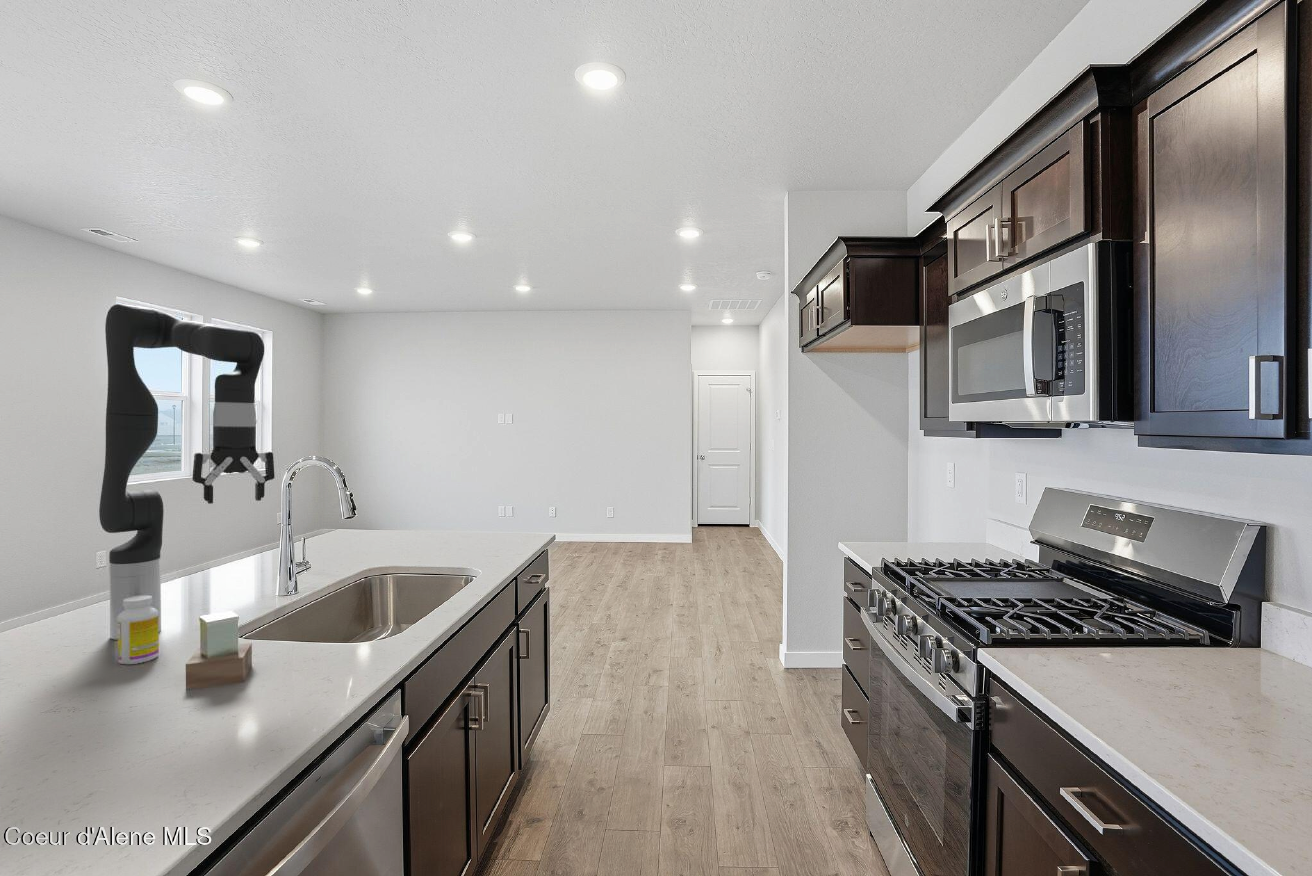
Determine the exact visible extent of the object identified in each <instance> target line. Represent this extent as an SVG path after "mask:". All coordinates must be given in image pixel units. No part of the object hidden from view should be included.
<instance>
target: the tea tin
mask: <svg viewBox="0 0 1312 876" xmlns="http://www.w3.org/2000/svg"><path fill="white" fill-rule="evenodd" d="M239 620H240V616H239V615H237V613H235V612H233V611H232V610H227V611H223V612H216V613H211V614H206V615H200V616H199V625H200V626H199V627H200V628H199V631H200V632H199V633H200V635H199V636H200V640H199V643H200V645H199V646H200V653H201V654H202V655H203V656H204V657H205V658H207V659H212V658H216V657H221V656H225V655H230V654H234V653H238V644H239Z"/></svg>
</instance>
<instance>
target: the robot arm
mask: <svg viewBox="0 0 1312 876" xmlns="http://www.w3.org/2000/svg"><path fill="white" fill-rule="evenodd" d="M104 327H105V331H104V332H105V347H106V361H107V395H106V396H107V398H106V409H105V456H104V457H105V458H104V470H103V476H102V484H101V491H100V492H101V493H100V499H99V511H98V513H99V515H98V516H99V523H100V525H101V528H102V529H103V531H104V532H106V533H108V534H115V533H116V534H117V533H119V534H120V533H128V532H134V531H135V532H136V534H135V535H134V536H133V537H132V538H131V539H130V540H128V541H127V542H125V543H123V544H120V545H118V546H116V547H113V548H112V549H111V550H110V551H109V554H108V555H109V559H108V561H109V563H108V565H109V571H108V572H109V638H110V639H111V640H115V641H116V640H117V641H118V630H117V617H118V615H119V614H120V613H121V612H123V611H124V610H125V608H124V606H123V600H124V599H126V598H129V597H134V596H142V595H149V596H152V603H151V607H153V608H155V609H157V611H158V631H159V632H161V631H162V593H161V592H162V589H161V588H162V587H161V586H162V581H161V580H162V579H161V578H162V577H161V575H162V574H161V551H162V546H163V527H164V513H165V512H164V502H163V498H162V496H161V494H160V493H159V492H158V491H157V490H154V489H141V490H128V491H127V486H128V481H129V477H130V475H131V473H132V472H133V471H132V470H133V469H134V467H135V466H136V464H137V463H138V462H139V460H140V459H142V457H143V456H144V454H145V453H146V452H147V451H148V449H149V448H150V447H151V445H152V444H153V443H154V441H155V440H156V437H157V436H158V428H159V425H158V424H159V406H158V403H157V401H156V399H155V397H154V396H153V394H152V393H151V391H150V389H149V388H148V386H147V385H146V384H145V382H144V381H143V379H142V377H141V376H140V373H139V372H138V369H137V367H136V363H135V351H134V350H135V349H134V348H141V349H151V350H152V349H163V348H177V349H179V350H181V351H183V352H185V353H188V354H191V355H196V356H199V357H200V356H201V357H205V358H207V359H209V360H213V361H216V362H225V363H236V366H235V367H234V370H232V372H230V373H228V372H227V373H223V374H218V375H217V376H216V378H215V380H214V406H213V412H212V413H213V414H212V416H213V417H212V425H213V426H212V450H211V452H210V453H201V452H195V453H194V454H193V467H192V477H191V478H192V481H193V482H195V483H197V484H201V485H202V486H203V500H204V501H205V502H207V504H209V505H212V504H214V485H213V483H214V482H215V480H216V479H217V478H219V477H220V475H221V474H223V473H225V474H234V473H238V474H244V473H246V472H248V473H249V475H251V476H252V478H254V480H255V481H256V482H255V485H254V487H255V488H254V489H255V491H254V492H255V493H254V495H255V496H254V499H255V501H262V499H263V498H264V497H265V484H266V482H269V481H272V480H274V479H275V477H276V476H275V475H276V474H275V461H274V460H275V459H274V453H273V452H272V451H267V450H266V451H265V452H258V451H257V413H256V412H257V411H256V405H255V402H256V401H255V399H256V397H255V396H256V394H255V393H256V391H255V388H256V382H257V378H258V375H259V371H260V368H261V365H262V361H263V360H264V359H263V358H264V355H265V344H264V341H263V338H262V337H261V335H259V333H257V332H255V331H254V330H253V331H252V330H248V329H247V330H246V329H241V328H232V327H226V326H217V325H215V324H211V323H207V322H199V321H195V320H183V319H181V318H177V317H175V316H173V315H171V314H169V313H167V312H164V311H162V310H159V309H157V308H152V307H146V306H139V305H133V304H132V305H131V304H123V303H116V304H113V305H112V306H111V307H109V310H108V312H107V314H106V318H105V326H104ZM209 459H210V460H211V461H212V462H213V463H214V465H215V466H214V467H213V468H212V469H211V470H210V471H209V473H208V475H207V476H205V477H203V476H202V475H203V473H202V472H203V465H205V464H206V463H207V462H208V460H209ZM258 459H260V460H261V462H262V463H264V470H265V474H263V475H262V473H260V471H259V470H257V468H256V467H255V466H254V464H255V463H256V461H257V460H258Z"/></svg>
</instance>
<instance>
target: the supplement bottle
mask: <svg viewBox="0 0 1312 876" xmlns="http://www.w3.org/2000/svg"><path fill="white" fill-rule="evenodd" d="M151 603H152V596H149V595H142V596H134V597H129V598H126V599H124V600H123V606H124V608H125V610H124V611H123V612H121V613H120V614H119V615H118V617H117V630H118V640H117V661H118V663H119V664H120V665H137V664H138V663H139V664H144V663H147V662H149V661H153V660H154V659H156V658H157V657H158V656H159V655H160V646H159V645H160V643H159V642H160V639H159V638H160V637H159V636H160V635H159V632H160V631H158V611H157V609H155V608H153V607H151ZM143 662H144V663H143Z"/></svg>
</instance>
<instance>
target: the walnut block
mask: <svg viewBox="0 0 1312 876" xmlns="http://www.w3.org/2000/svg"><path fill="white" fill-rule="evenodd" d="M252 650H253V645H252V642H247V643H238V653H234V654H230V655H225V656H221V657H216V658H212V659H207V658H205V657H204V656H203V655H202V654H201V653H200V648H198V649H196V651H195V652H194V653H193V655H192V656H191V657H190V658H189V659H188V660H187V662H186V663H185V690H195V689H200V688H209V687H210V688H211V687H217V686H224V685H226V686H227V685H233V684H240V683H244V681H245V679H246V678H247V675H248V674H249V671H250V670H251V669H252V666H253V651H252Z"/></svg>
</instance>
